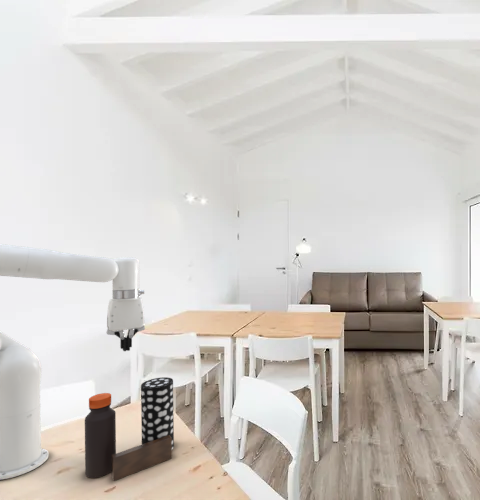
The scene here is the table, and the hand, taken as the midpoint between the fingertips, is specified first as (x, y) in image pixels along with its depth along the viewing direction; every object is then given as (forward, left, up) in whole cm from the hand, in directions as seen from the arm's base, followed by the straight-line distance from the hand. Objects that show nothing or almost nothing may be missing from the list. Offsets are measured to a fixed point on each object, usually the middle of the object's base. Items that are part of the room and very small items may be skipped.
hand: (126, 350), depth 117 cm
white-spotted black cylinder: (+4, -21, -26) cm, 34 cm away
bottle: (-10, -21, -26) cm, 35 cm away
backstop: (-2, -27, -26) cm, 38 cm away
